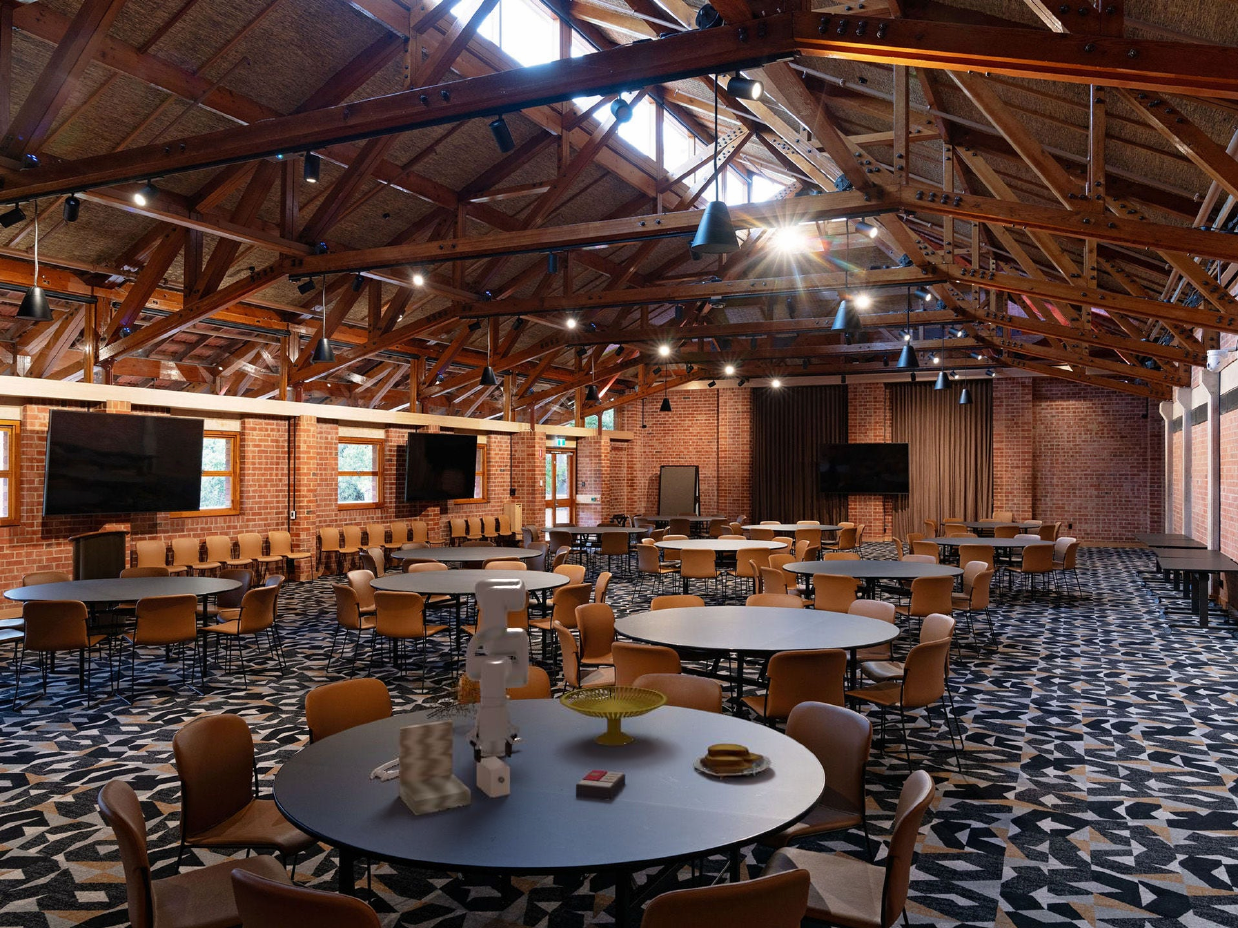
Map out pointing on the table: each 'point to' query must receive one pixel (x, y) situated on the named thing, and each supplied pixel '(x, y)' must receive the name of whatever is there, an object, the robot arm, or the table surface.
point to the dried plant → (454, 699)
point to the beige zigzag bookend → (429, 769)
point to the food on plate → (731, 761)
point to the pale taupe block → (493, 777)
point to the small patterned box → (600, 784)
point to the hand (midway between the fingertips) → (493, 758)
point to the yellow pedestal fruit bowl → (613, 709)
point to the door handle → (388, 774)
